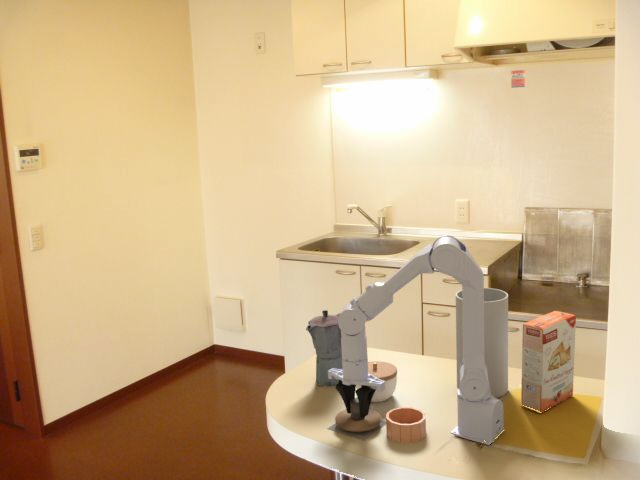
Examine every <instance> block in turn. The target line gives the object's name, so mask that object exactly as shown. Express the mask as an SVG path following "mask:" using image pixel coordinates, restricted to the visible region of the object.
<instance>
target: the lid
mask: <svg viewBox="0 0 640 480" xmlns="http://www.w3.org/2000/svg"><path fill="white" fill-rule="evenodd" d="M350 410H351V413H350V414H349V413H347V410H346V408H345V409H342V410H341V411H339V412H338V413H337V414H336V415H335V417H334V419H335V420H334V421H335V423H336V425H337V426H338V427H339V428H341V429H343V430H346V431H352V432H362V431H368V430H371V429H374V428H376V427H377V426H378V425H379V424H380V423H381V420H382V416H381V413H380V412H378V411H377V410H375V409H373V408H370V407H369V413H368V415H367V416H365V417H364V418H362V417H361V416H360V407H359V401H358V397H355V398H354V399H352V400H350ZM335 423H334V424H335Z"/></svg>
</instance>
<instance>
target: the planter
mask: <svg viewBox="0 0 640 480" xmlns="http://www.w3.org/2000/svg"><path fill="white" fill-rule="evenodd" d="M426 417H427V416H426V413H425V412H424V411H423V410H422V409H419V408H416V407H412V406H409V407H408V406H400V407H396V408H392V409H390V410H389V411H388V412H386V413H385V421H386V425H385V429H386V436H387V437H388V438H389V439H390V440H392V441H395V442H398V443H407V444H409V443H410V444H411V443H415V442H419V441H421V440H422V439H424V438H426V436H427V424H426V423H427V422H426V421H427V420H426Z"/></svg>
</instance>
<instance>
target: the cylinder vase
mask: <svg viewBox="0 0 640 480" xmlns="http://www.w3.org/2000/svg"><path fill="white" fill-rule="evenodd" d="M455 331H456V332H455V336H456V338H455V342H456V343H455V345H456V347H455V348H456V388H457V390H458V389H459V384H460V375H459V367H460V365H461V363H462V361H463V304H462V289H461V290H458V291H457V292H455ZM484 359H485V365H486V366H487V369H488V381H489V385H490V391H491V395H492V396H493V397H495V398H497V399H499V398H501V397H503V396H504V395H506V394H507V392H508V390H509V294H508V292H506V291H504V290H501V289H498V288H491V287H484Z"/></svg>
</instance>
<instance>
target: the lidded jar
mask: <svg viewBox="0 0 640 480" xmlns="http://www.w3.org/2000/svg"><path fill="white" fill-rule="evenodd" d="M368 373H369V374H371V375H372V376H374V377H376V378H378V379H380V380H383V381H385V390H383V391H382V392H378V391H377V390H376V391H375V393H374V395H373V397H372V400H371V402H372V403H380V402H381V403H382V402H384V401H385V402H386V401H387V400H388V399H390V398H391V397H392V396H393V394H394V393H395V391H396V387H397V382H398V376H397V375H398V368H397V366H395V364H393V363H390V362H385V361H379V360H378V361H376V360H375V361H368ZM359 388H361V386H360V385H356V390H357V389H359Z"/></svg>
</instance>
